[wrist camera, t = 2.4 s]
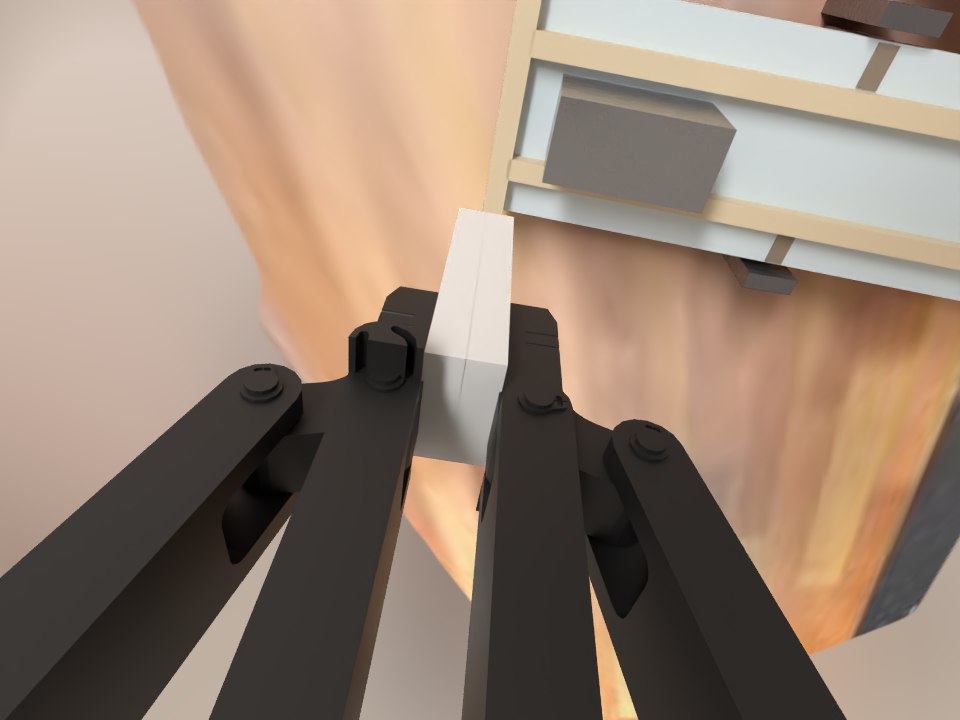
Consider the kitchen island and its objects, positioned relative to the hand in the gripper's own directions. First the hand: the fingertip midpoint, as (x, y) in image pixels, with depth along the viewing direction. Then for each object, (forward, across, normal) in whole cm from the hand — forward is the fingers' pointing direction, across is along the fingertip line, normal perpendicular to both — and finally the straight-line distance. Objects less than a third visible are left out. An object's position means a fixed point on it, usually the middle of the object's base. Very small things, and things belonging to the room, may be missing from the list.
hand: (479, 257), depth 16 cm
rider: (+18, +7, 0) cm, 19 cm away
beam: (+18, +18, 0) cm, 26 cm away
